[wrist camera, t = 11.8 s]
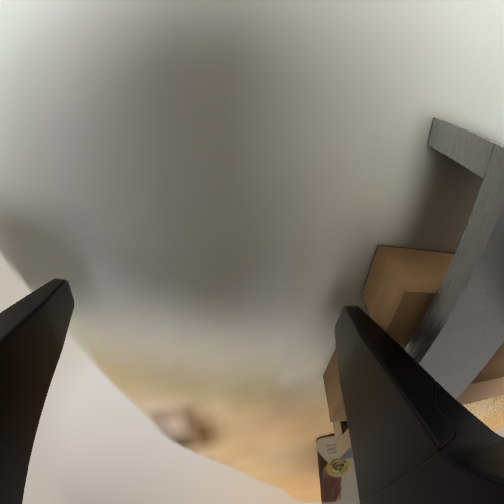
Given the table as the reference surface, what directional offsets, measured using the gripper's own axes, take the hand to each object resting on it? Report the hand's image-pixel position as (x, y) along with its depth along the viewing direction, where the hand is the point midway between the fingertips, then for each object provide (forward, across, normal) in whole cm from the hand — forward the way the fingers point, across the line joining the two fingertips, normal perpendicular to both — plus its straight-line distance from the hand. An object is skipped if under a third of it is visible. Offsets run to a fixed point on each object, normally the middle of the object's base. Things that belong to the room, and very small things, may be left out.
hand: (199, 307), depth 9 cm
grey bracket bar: (+1, -7, 0) cm, 7 cm away
